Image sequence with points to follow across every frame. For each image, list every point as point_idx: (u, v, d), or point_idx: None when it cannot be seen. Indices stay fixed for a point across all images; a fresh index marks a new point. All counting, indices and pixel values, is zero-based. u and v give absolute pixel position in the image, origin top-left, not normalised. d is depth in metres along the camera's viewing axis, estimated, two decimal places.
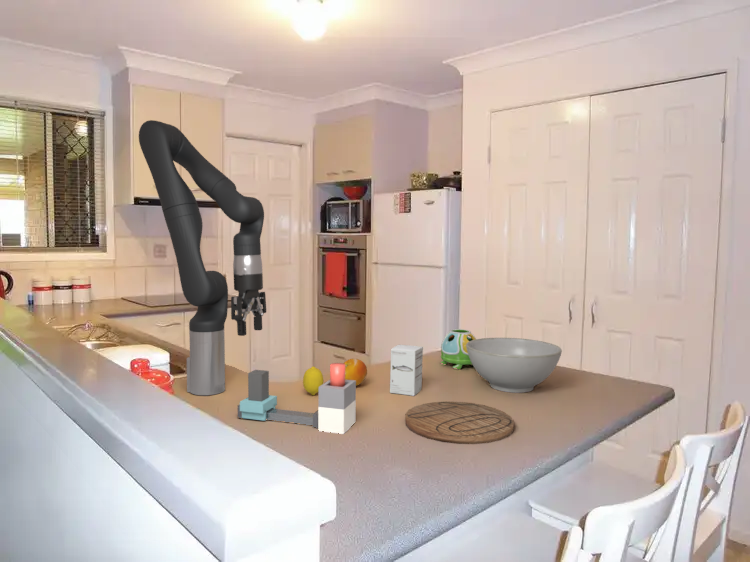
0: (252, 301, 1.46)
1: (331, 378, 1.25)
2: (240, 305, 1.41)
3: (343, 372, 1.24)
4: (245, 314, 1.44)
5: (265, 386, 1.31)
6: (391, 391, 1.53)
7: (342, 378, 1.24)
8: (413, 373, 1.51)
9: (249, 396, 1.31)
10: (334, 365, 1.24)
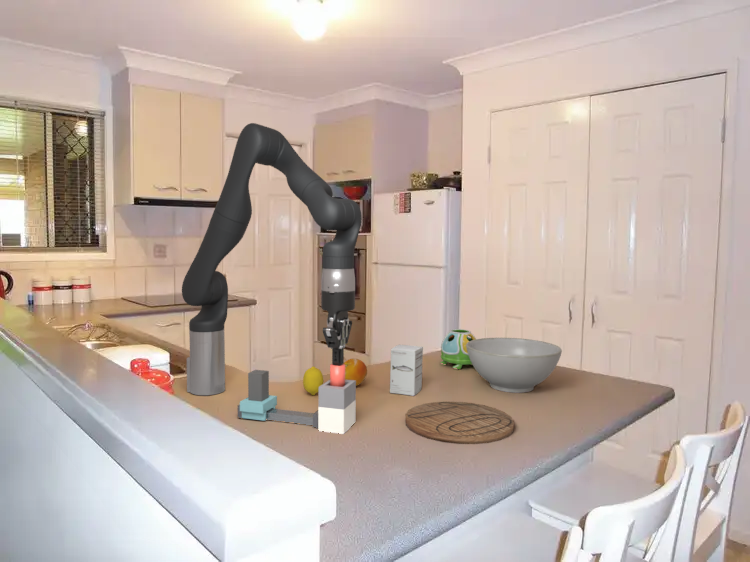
0: (344, 324, 1.23)
1: (331, 378, 1.25)
2: (335, 337, 1.20)
3: (343, 372, 1.24)
4: (341, 341, 1.23)
5: (265, 386, 1.31)
6: (391, 391, 1.53)
7: (342, 378, 1.24)
8: (413, 373, 1.51)
9: (249, 396, 1.31)
10: (334, 365, 1.24)
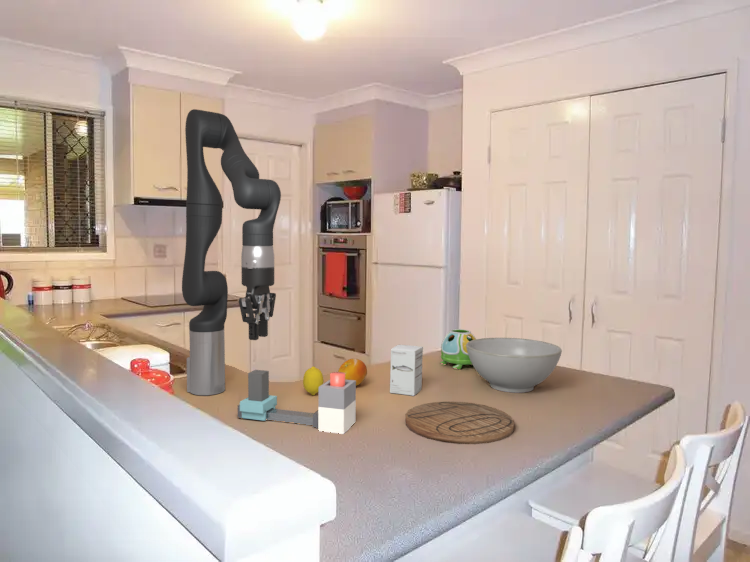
0: (262, 299, 1.28)
1: None
2: (250, 308, 1.24)
3: (343, 381, 1.25)
4: (257, 316, 1.27)
5: (265, 386, 1.31)
6: (391, 391, 1.53)
7: None
8: (413, 373, 1.51)
9: (249, 396, 1.31)
10: (334, 374, 1.25)
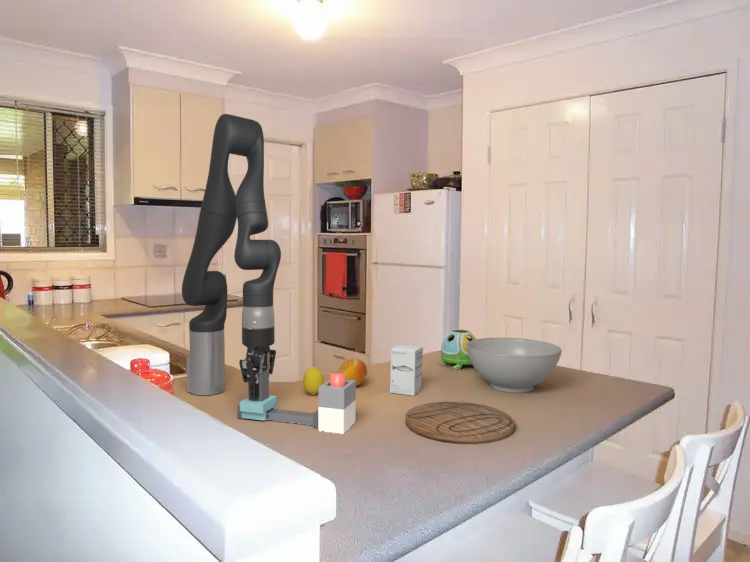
0: (262, 358, 1.29)
1: None
2: (250, 369, 1.25)
3: (343, 381, 1.25)
4: (257, 375, 1.29)
5: (265, 386, 1.31)
6: (391, 391, 1.53)
7: None
8: (413, 373, 1.51)
9: None
10: (334, 374, 1.25)
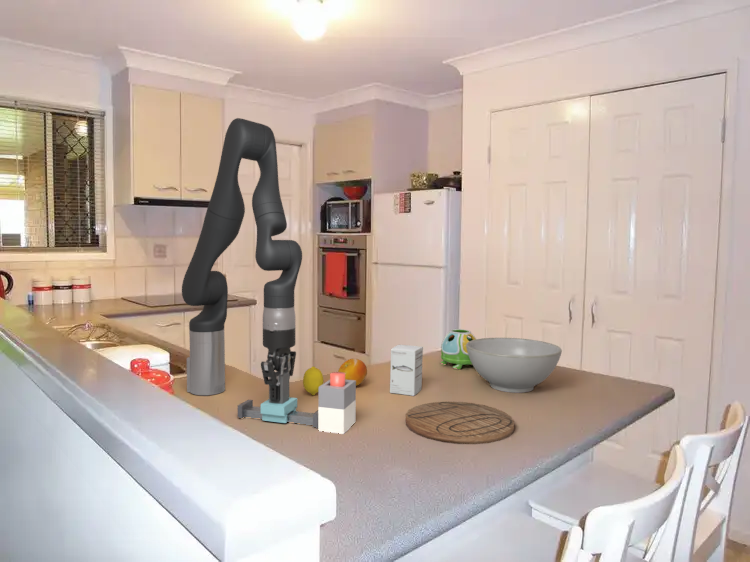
0: (283, 360, 1.27)
1: None
2: (272, 371, 1.24)
3: (343, 381, 1.25)
4: (279, 378, 1.27)
5: (286, 388, 1.30)
6: (391, 391, 1.53)
7: None
8: (413, 373, 1.51)
9: None
10: (334, 374, 1.25)
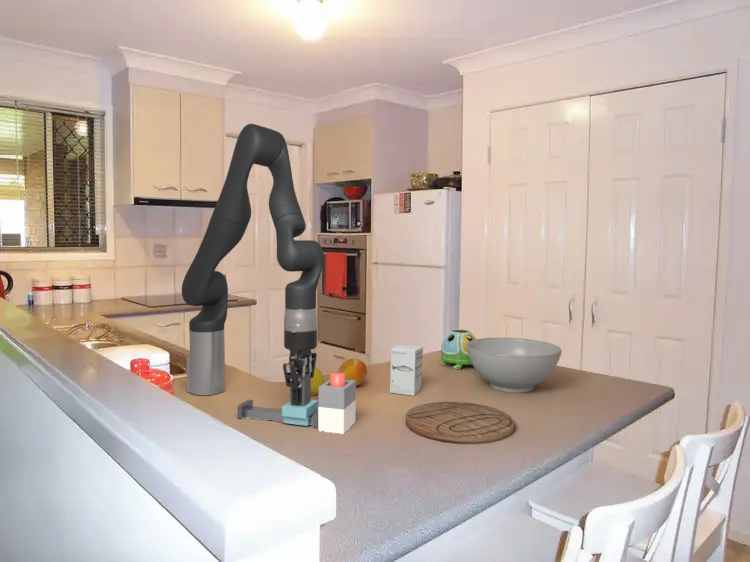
0: (305, 362, 1.26)
1: None
2: (294, 373, 1.22)
3: (343, 381, 1.25)
4: (300, 380, 1.26)
5: (307, 390, 1.28)
6: (391, 391, 1.53)
7: None
8: (413, 373, 1.51)
9: (291, 401, 1.27)
10: (334, 374, 1.25)
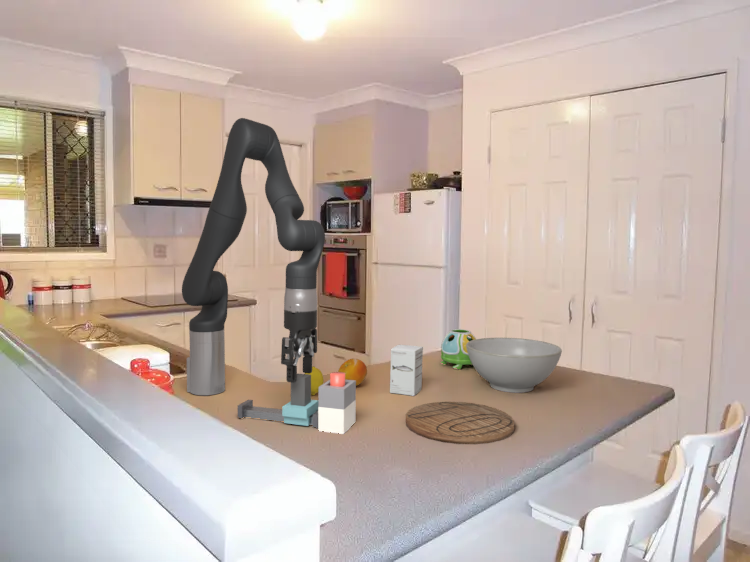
0: (305, 342, 1.25)
1: None
2: (292, 348, 1.21)
3: (343, 381, 1.25)
4: (296, 358, 1.23)
5: (308, 390, 1.28)
6: (391, 391, 1.53)
7: None
8: (413, 373, 1.51)
9: (291, 401, 1.27)
10: (334, 374, 1.25)
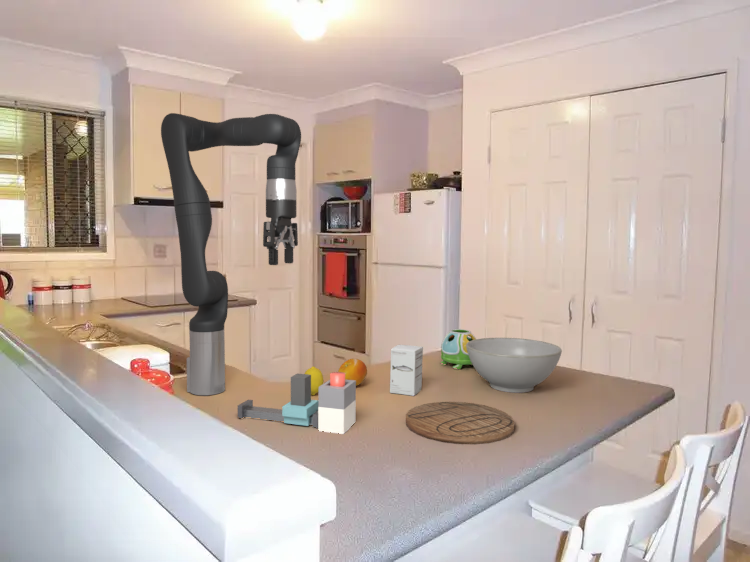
0: (285, 229, 1.36)
1: None
2: (273, 230, 1.31)
3: (343, 381, 1.25)
4: (277, 242, 1.34)
5: (308, 390, 1.28)
6: (391, 391, 1.53)
7: None
8: (413, 373, 1.51)
9: (291, 401, 1.27)
10: (334, 374, 1.25)
